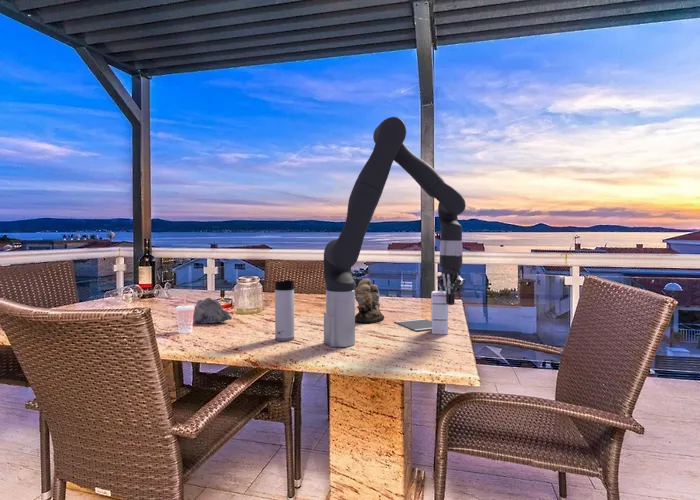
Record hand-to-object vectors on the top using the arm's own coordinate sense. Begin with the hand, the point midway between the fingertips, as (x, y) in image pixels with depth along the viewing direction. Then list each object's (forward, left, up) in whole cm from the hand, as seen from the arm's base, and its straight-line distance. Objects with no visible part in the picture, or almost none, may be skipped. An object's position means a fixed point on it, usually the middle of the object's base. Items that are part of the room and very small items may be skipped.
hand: (450, 304), depth 140 cm
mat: (0, +18, -11) cm, 21 cm away
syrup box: (0, +6, -11) cm, 13 cm away
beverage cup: (-83, +42, -11) cm, 94 cm away
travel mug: (-53, +18, -11) cm, 57 cm away
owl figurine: (-14, +35, -11) cm, 39 cm away
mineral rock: (-73, +53, -11) cm, 91 cm away
